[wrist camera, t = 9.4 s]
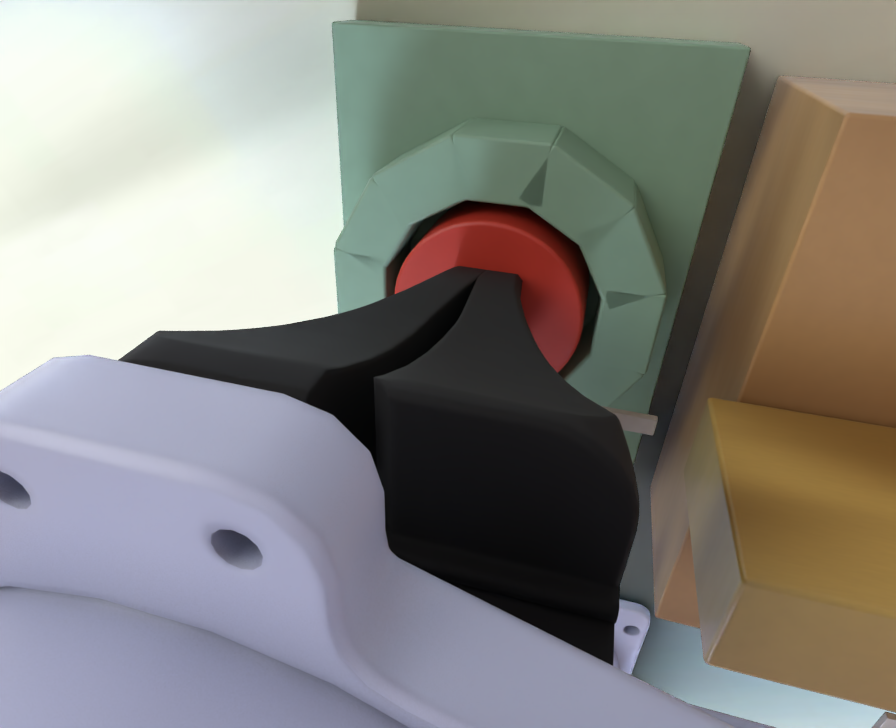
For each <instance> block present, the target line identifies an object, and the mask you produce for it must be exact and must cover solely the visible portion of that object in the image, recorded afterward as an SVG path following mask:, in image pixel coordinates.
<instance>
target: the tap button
mask: <svg viewBox="0 0 896 728" xmlns="http://www.w3.org/2000/svg"><path fill="white" fill-rule="evenodd" d="M456 266H464V267H471V268H478V269H485V270H492V271H499V272H506V273H513V274H518V275H519V276H520V278H521V279H522V280H523V281H522V290H521V303H522V307H523V311H524V314H525V318H526V321H527V324H528V326H529V328H530V331H531V333H532V335H533V338H534V340H535V342H536V343H537V345H538V347H539V349H540V350H541V352H542V354H543V355H544V357H545V358H546V360H547V361H548V362H549V364H550V365H551V366H552V367H553V368H554V369H555V371H556V372H557V373H558V372H559V371H560V370H561V369H562V368H563V367H564V366H565V365H566V364H567V363H568V361H569V360H570V359H571V357H572V355H573V354H574V352H575V350H576V348H577V346H578V343H579V341H580V338H581V334H582V330H583V324H584V317H585V311H586V304H587V297H588V290H589V269H588V266H587V263H586V261H585V258H584V256H583V253H582V251H581V249H580V246H579V245H578V244H576V243H575V242H574V241H572V240H571V239H570V238H568V237H567V236H565V235H564V234H563V233H561V232H560V231H559V230H557V229H556V228H555V227H553V226H552V225H551V224H549V223H548V222H547V221H545V220H544V219H543V218H541V217H540V216H539V215H537V214H536V213H534V212H533V211H532V210H530V209H529V208H527V207H518V206H510V205H502V204H493V203H485V202H477V201H469V200H467V201H464V202H462V203H460V204H458V205H456V206H454V207H453V208H451V209H450V210H449V211H447V212H446V213H445V214H444V215H443V216H442V217H441V218H440V219H439V220H438V221H437V222H436V223H435V224H434V225H433V226H432V227H431V229H430V230H429V231H428V232H427V233H426V234H425V235H424V237H423V238H422V239H421V240H420V241H419V242H418V243H417V245H416V246H415V247H414V248H413V249H412V251H411V252H410V253H409V255H408V256H407V257H406V259H405V261H404V263H403V264H402V266H401V268H400V271H399V274H398V277H397V280H396V285H395V294H396V293H399V292H401V291H403V290H406V289H408V288H410V287H412V286H414V285H416V284H419V283H421V282H423V281H425V280H427V279H429V278H431V277H433V276H435V275H437V274H440V273H442V272H444V271H446V270H448V269H451V268H453V267H456Z"/></svg>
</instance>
